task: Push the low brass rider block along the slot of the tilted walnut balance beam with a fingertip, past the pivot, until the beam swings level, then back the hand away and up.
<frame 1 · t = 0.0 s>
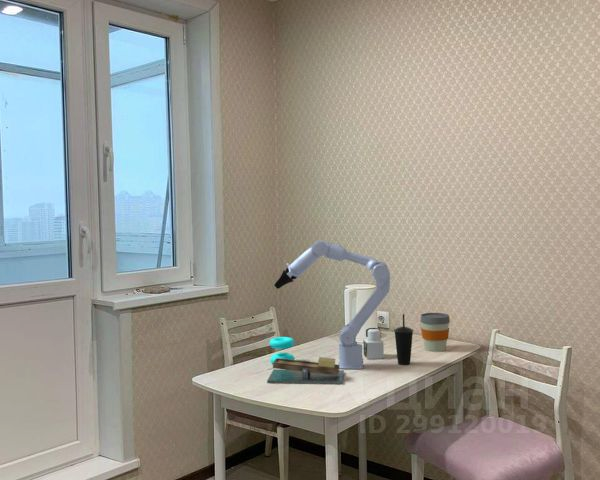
hand: (277, 285, 226), 32 cm above the table, tool tilted 50°, fingers open, 7 cm apart
brass rider: (326, 367, 209), point 4 cm above the table, tilted 6°, touching balance beam
balance beam: (306, 366, 210), point 4 cm above the table, hinge at -5.6°, touching brass rider
drinking cup: (404, 364, 227), on the table
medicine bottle: (373, 357, 238), on the table
reusable coffee cup: (435, 349, 249), on the table
beam stand: (306, 377, 210), on the table
donuts: (282, 363, 232), on the table
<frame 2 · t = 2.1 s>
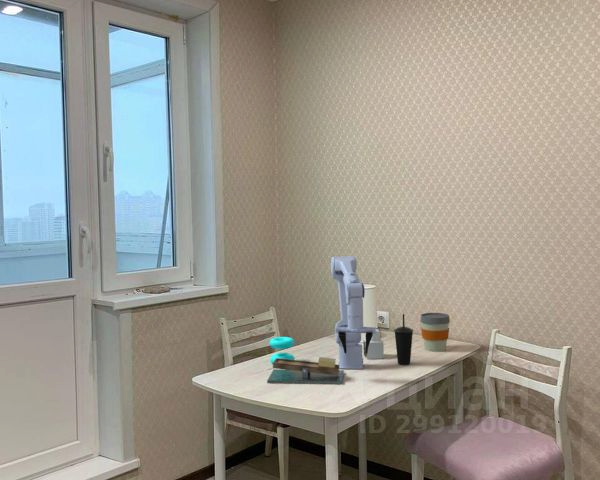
hand: (356, 352, 207), 10 cm above the table, tool pointing down, fingers open, 7 cm apart
nothing on the table moved.
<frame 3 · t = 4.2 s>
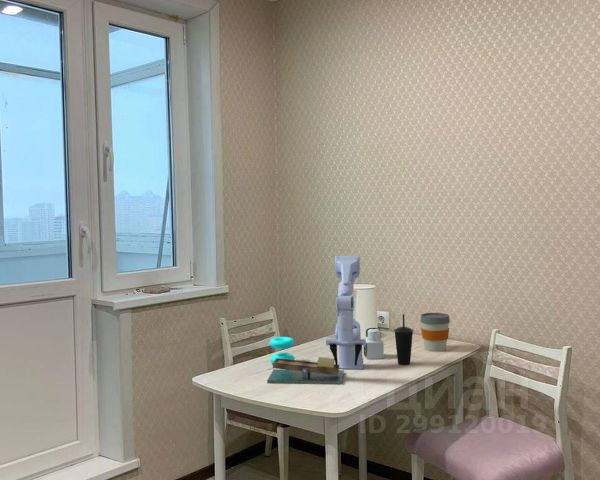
hand: (346, 364, 208), 5 cm above the table, tool pointing down, fingers open, 6 cm apart
brass rider: (325, 367, 209), point 4 cm above the table, tilted 6°, touching gripper
balance beam: (306, 366, 210), point 4 cm above the table, hinge at -5.6°
everything else where it was.
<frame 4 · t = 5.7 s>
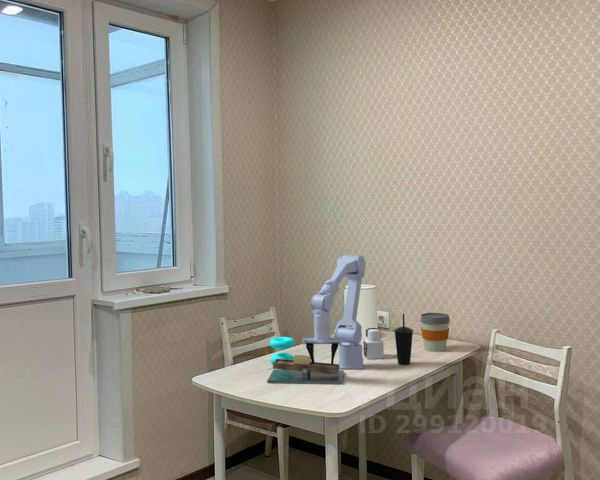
hand: (322, 363, 209), 5 cm above the table, tool pointing down, fingers open, 6 cm apart
brass rider: (301, 364, 210), point 5 cm above the table, touching balance beam, gripper
balance beam: (306, 366, 210), point 4 cm above the table, hinge at -4.7°, touching brass rider
everything else where it was.
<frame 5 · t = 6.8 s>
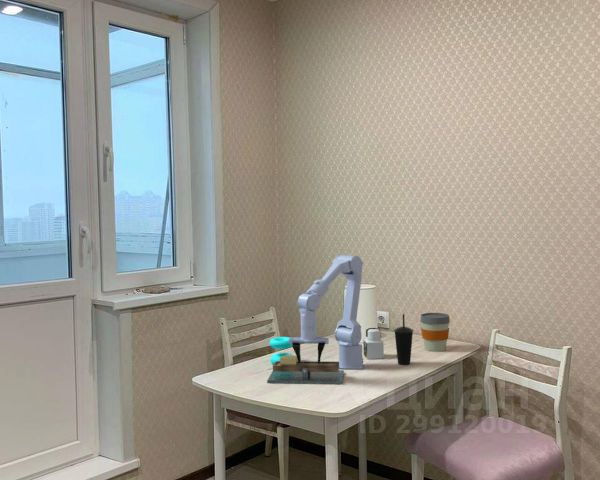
hand: (309, 362, 210), 6 cm above the table, tool pointing down, fingers open, 7 cm apart
brass rider: (289, 365, 211), point 5 cm above the table, touching balance beam, gripper
balance beam: (306, 366, 210), point 4 cm above the table, hinge at 0.3°, touching brass rider
everything else where it was.
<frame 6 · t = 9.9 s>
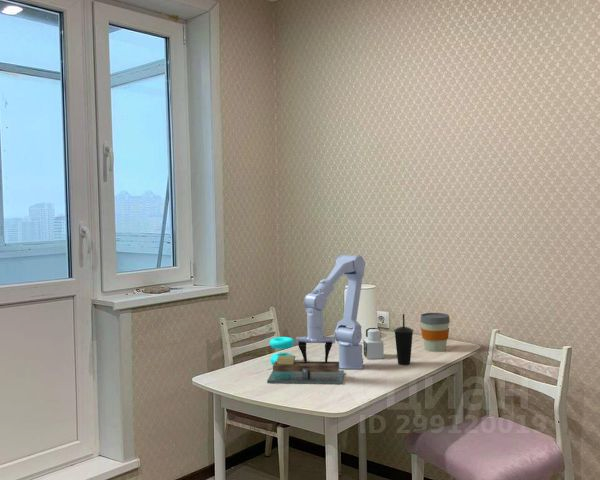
hand: (315, 362, 210), 6 cm above the table, tool pointing down, fingers open, 7 cm apart
brass rider: (286, 365, 211), point 5 cm above the table, touching balance beam
everything else where it was.
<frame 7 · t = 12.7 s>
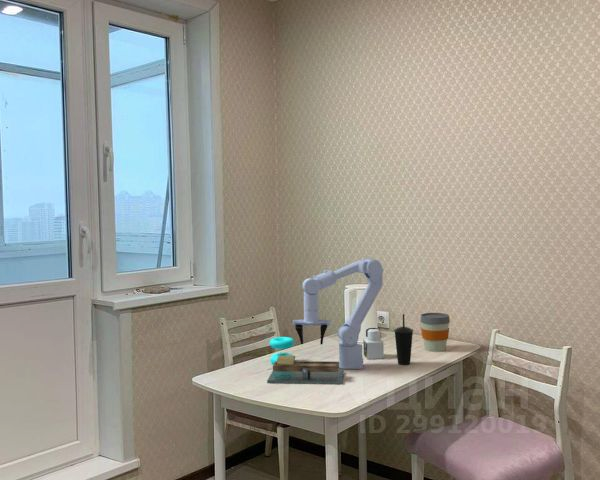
hand: (311, 343, 222), 10 cm above the table, tool pointing down, fingers open, 7 cm apart
nothing on the table moved.
at the end: balance beam at +0° (first picture: -6°); brass rider 0.3 cm from the target spot on the balance beam, point 0.7 cm above the balance beam's base; brass rider tilted 0° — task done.
